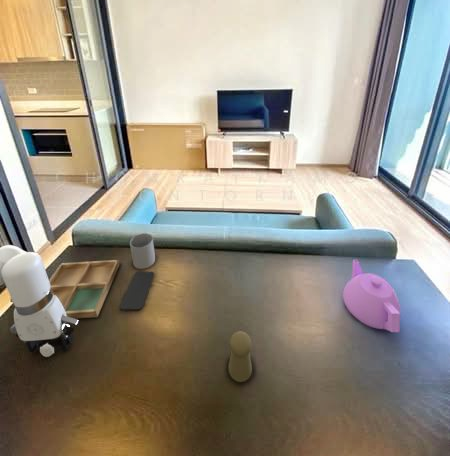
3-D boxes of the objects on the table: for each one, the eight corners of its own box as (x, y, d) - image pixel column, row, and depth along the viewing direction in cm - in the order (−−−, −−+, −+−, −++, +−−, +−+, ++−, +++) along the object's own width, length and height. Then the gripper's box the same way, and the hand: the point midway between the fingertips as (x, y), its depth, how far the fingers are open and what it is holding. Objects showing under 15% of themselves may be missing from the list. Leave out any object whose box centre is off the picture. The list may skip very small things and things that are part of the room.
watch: (33, 356, 67) (29, 347, 66) (45, 338, 71) (42, 329, 70) (60, 358, 66) (57, 349, 65) (71, 339, 71) (69, 331, 70)
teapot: (419, 343, 69) (431, 312, 65) (365, 347, 68) (374, 316, 64) (371, 279, 90) (378, 252, 86) (329, 281, 89) (334, 254, 85)
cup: (146, 250, 105) (143, 230, 101) (159, 258, 100) (157, 238, 96) (129, 262, 98) (125, 242, 95) (142, 272, 94) (138, 251, 90)
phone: (118, 308, 79) (135, 271, 93) (118, 310, 79) (135, 272, 93) (141, 309, 79) (154, 271, 93) (141, 311, 79) (155, 273, 93)
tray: (25, 322, 76) (22, 316, 75) (62, 268, 96) (60, 263, 95) (97, 317, 77) (96, 311, 76) (119, 264, 97) (118, 259, 96)
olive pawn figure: (239, 350, 68) (239, 321, 64) (256, 368, 64) (258, 339, 60) (223, 367, 64) (223, 338, 60) (241, 388, 60) (241, 358, 56)
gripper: (-15, 316, 58) (8, 363, 64) (62, 310, 59) (78, 357, 66) (9, 288, 65) (28, 334, 71) (77, 284, 66) (90, 329, 73)
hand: (52, 345), depth 68 cm, fingers open, 8 cm apart
